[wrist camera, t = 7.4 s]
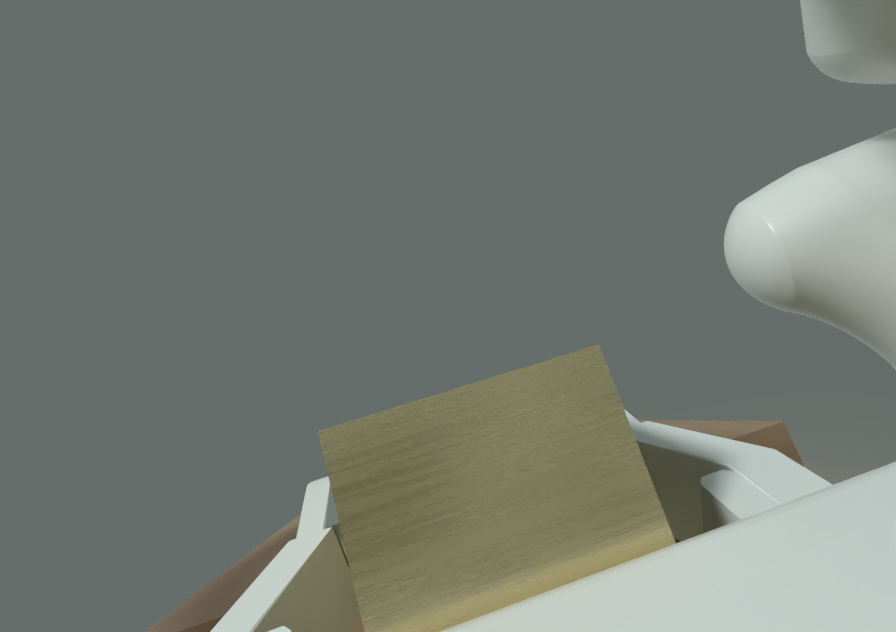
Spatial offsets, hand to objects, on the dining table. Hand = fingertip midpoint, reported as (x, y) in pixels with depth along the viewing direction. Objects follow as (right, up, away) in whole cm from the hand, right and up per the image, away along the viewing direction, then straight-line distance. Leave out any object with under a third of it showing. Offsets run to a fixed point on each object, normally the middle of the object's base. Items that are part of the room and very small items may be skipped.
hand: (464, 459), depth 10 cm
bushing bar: (0, -4, +6) cm, 7 cm away
